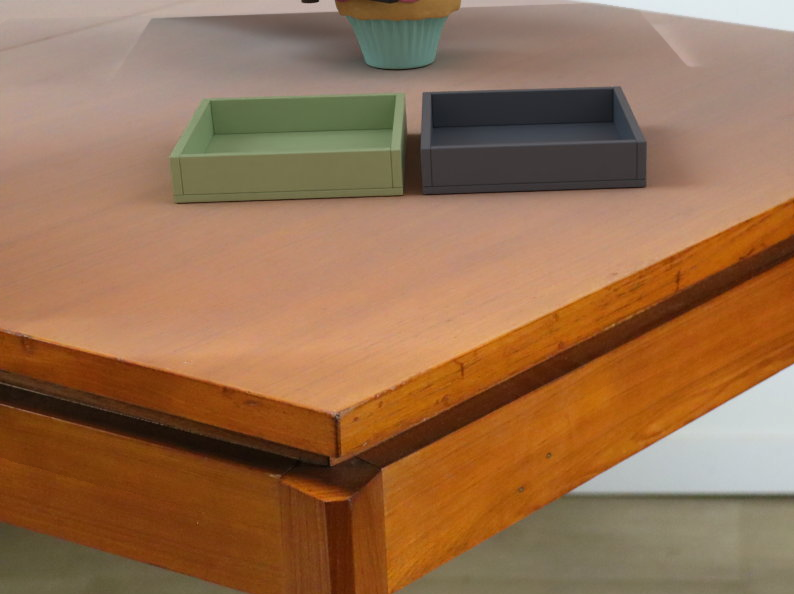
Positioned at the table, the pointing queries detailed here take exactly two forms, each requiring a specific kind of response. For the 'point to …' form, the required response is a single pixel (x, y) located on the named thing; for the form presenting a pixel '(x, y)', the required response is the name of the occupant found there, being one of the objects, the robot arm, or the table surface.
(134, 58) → the table surface
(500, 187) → the slate tray
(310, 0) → the robot arm
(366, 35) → the cupcake
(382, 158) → the green tray
